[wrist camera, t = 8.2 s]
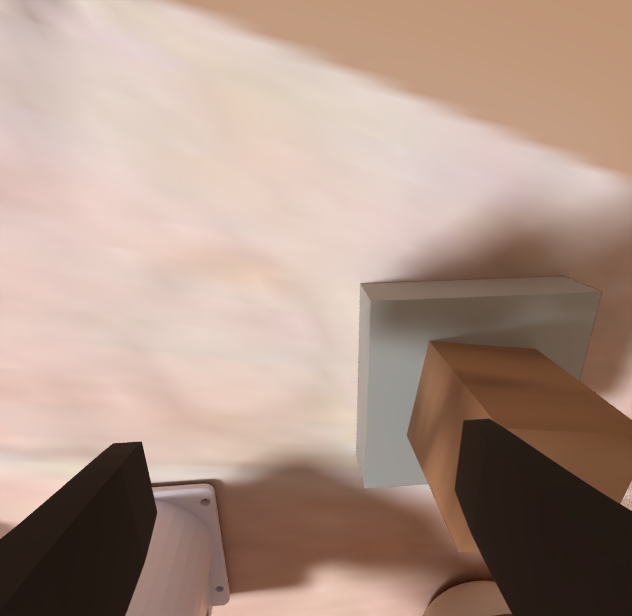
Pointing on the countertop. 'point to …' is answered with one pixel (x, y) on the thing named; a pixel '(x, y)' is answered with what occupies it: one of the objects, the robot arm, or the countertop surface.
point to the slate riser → (457, 327)
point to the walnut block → (513, 420)
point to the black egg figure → (470, 601)
